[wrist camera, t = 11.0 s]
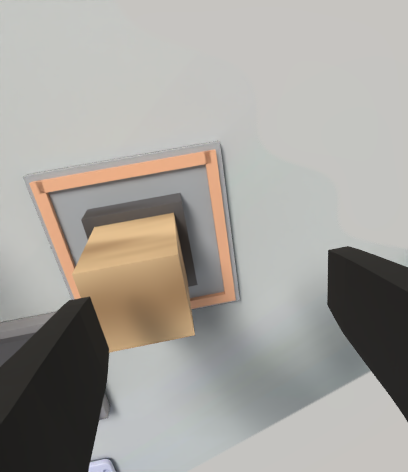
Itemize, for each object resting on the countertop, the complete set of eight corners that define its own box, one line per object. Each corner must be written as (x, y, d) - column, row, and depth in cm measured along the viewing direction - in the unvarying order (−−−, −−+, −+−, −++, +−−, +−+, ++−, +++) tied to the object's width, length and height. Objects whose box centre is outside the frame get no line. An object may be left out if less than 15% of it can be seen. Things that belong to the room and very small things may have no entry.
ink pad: (110, 405, 24) (107, 424, 23) (-13, 431, 24) (-24, 452, 22) (70, 308, 20) (64, 324, 19) (-77, 337, 20) (-95, 356, 19)
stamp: (195, 271, 20) (207, 341, 14) (112, 287, 19) (93, 364, 14) (180, 192, 18) (188, 240, 12) (87, 209, 17) (53, 265, 12)
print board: (238, 295, 21) (240, 303, 21) (86, 325, 21) (83, 334, 20) (218, 140, 17) (220, 143, 16) (26, 174, 17) (20, 178, 16)
